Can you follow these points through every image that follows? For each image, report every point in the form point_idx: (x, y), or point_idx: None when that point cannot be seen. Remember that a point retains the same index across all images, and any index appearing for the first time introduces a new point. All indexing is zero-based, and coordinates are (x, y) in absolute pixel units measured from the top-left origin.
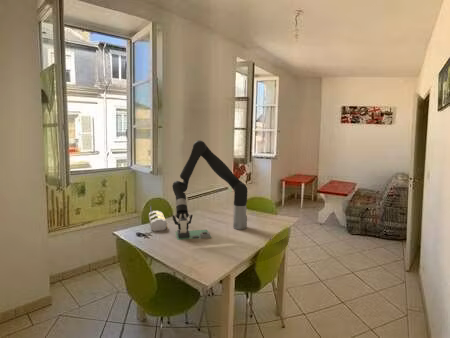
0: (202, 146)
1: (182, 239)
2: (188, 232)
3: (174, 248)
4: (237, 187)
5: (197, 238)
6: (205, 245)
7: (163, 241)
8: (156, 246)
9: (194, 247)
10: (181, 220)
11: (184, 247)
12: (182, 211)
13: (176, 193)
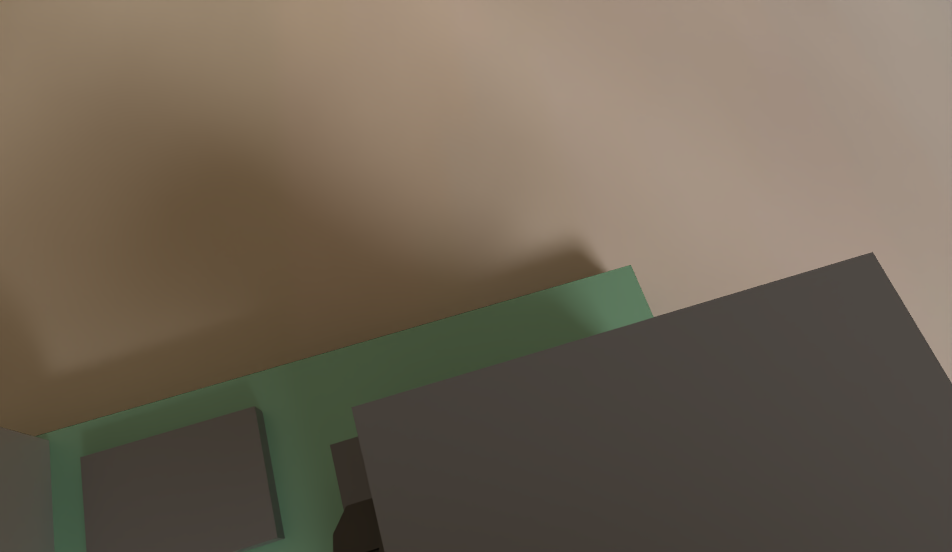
0: None
1: (514, 299)
2: (368, 491)
3: (582, 11)
4: None
5: (138, 408)
6: (14, 177)
7: (936, 295)
8: (931, 55)
9: (235, 76)
10: (774, 287)
11: (417, 60)
12: None
13: None
